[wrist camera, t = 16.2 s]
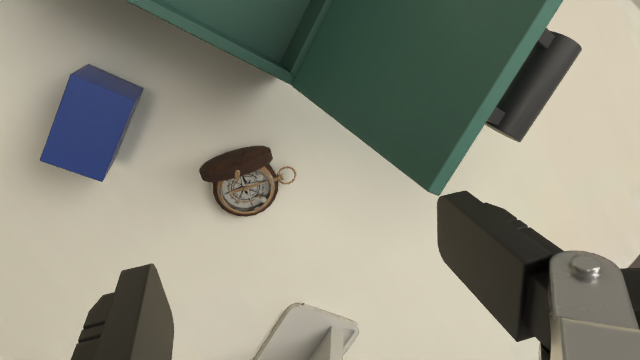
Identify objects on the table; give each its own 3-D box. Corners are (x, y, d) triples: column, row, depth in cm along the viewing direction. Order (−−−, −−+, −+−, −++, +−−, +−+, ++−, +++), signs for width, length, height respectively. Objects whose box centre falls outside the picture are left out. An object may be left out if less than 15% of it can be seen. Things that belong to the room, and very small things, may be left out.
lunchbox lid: (427, 191, 18) (501, 222, 21) (615, -109, 15) (670, -23, 18) (291, 85, 32) (347, 113, 35) (374, -81, 29) (427, -35, 32)
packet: (59, 140, 36) (39, 161, 31) (88, 63, 34) (70, 73, 29) (114, 160, 37) (102, 182, 33) (143, 88, 36) (135, 101, 31)
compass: (224, 221, 42) (228, 262, 36) (197, 148, 39) (196, 179, 32) (301, 197, 43) (318, 232, 37) (282, 124, 40) (297, 149, 33)
